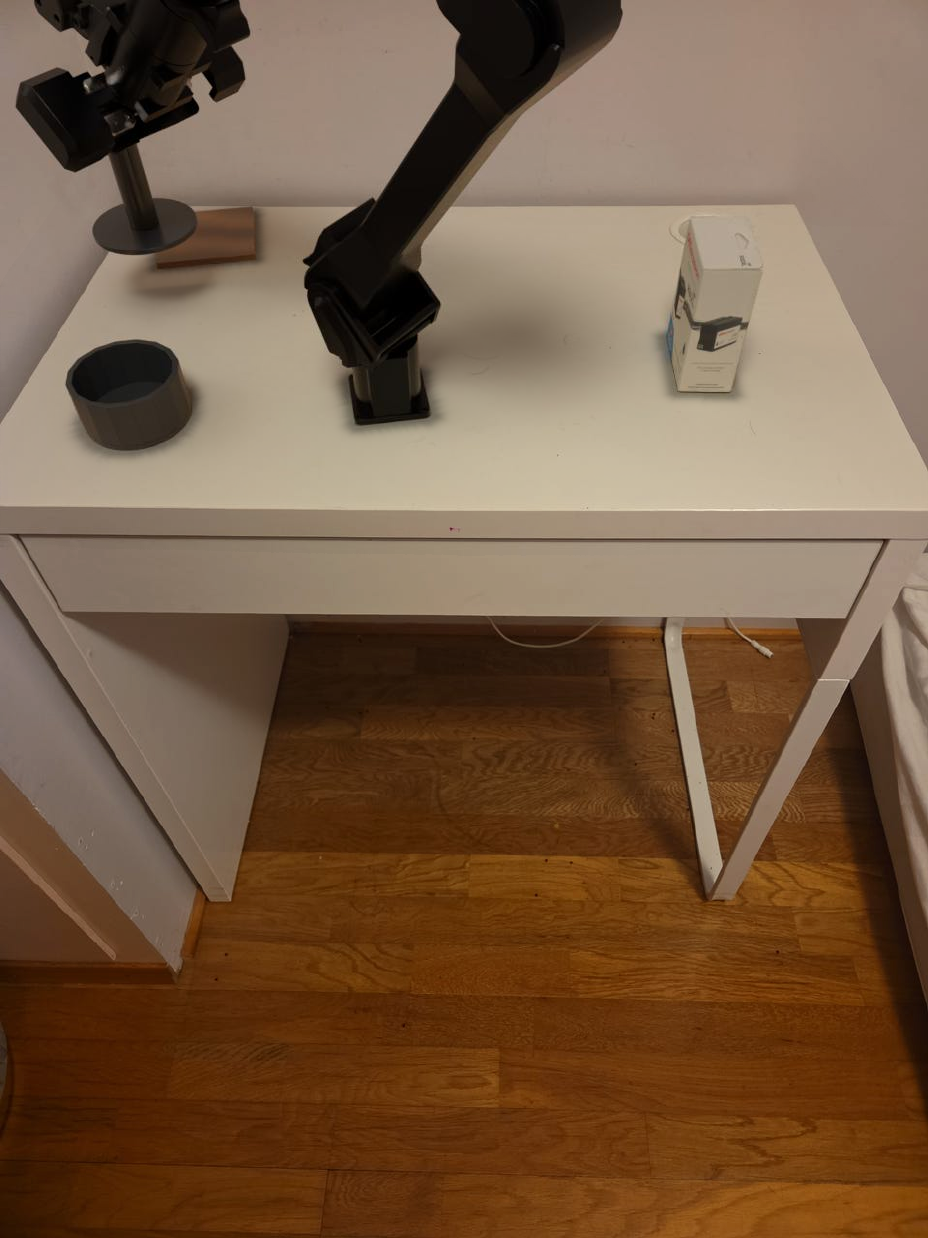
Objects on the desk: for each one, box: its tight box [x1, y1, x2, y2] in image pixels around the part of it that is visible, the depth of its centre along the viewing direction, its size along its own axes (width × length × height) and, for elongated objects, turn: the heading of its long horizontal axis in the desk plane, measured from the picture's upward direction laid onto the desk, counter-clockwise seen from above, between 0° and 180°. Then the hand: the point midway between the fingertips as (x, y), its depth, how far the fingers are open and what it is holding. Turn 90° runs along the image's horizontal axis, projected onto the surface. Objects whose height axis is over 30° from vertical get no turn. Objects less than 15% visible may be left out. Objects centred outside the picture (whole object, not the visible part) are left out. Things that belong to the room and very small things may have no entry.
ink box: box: [666, 215, 764, 393], centre depth 76 cm, size 8×5×12 cm, turn 178°
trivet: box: [155, 206, 257, 270], centre depth 95 cm, size 10×10×1 cm
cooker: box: [64, 338, 193, 451], centre depth 75 cm, size 9×9×4 cm
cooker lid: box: [91, 128, 198, 256], centre depth 79 cm, size 9×9×10 cm
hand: (112, 144), depth 77 cm, fingers closed on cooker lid, 2 cm apart
